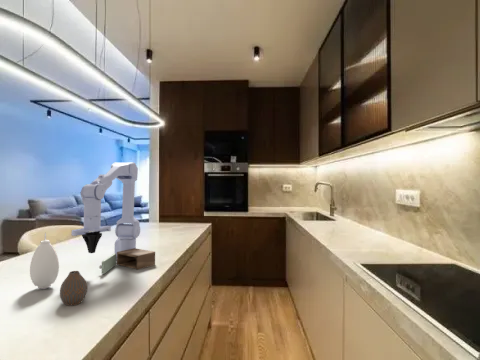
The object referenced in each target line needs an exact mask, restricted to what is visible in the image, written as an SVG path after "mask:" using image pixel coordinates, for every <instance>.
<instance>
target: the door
mask: <svg viewBox="0 0 480 360" xmlns="http://www.w3.org/2000/svg"><path fill="white" fill-rule="evenodd" d="M115 266H117V258H116V253H115V254H114V253H113V254H111V255H109V256H107V257H106V258H105V259H103V260H102V261H101V264H100V265H99V267H98V268H99V269H101V275H104V274H106V273H107V272H108V271H109V270H111V269H113V268H114V267H115Z"/></svg>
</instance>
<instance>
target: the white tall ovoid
mask: <svg viewBox="0 0 480 360" xmlns="http://www.w3.org/2000/svg"><path fill="white" fill-rule="evenodd" d="M43 238H44V239H43V240H41V241H40V243H39V245H38V246H37V247H36V249H35V251H34V252H33V255H32V257H31V260H30V265H29V276H30V280H31V282H32V284H33V285H34V286H35V287H37V288H38V289H41V290H45V289H48V288H49V287H51V286H52V284H54V283H55V282H56V281H57V278H58V275H59V271H60V269H59V268H60V263H59V257H58V254H57V253H58V252H57V251H56V250H55V248H54V246H53V245H52V244H51V240H49V239H47V233H46V232H45V233H44V237H43Z"/></svg>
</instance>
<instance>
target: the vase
mask: <svg viewBox="0 0 480 360" xmlns="http://www.w3.org/2000/svg"><path fill="white" fill-rule="evenodd" d="M87 283H88V282H87V281H86V278H84V277H83V275H82V274H81V273H80V271H79V270H73V271H69V273H68V275H67V276H66V277H65V278H64V280H63V281H62V283H61V286H60V288H59V297H60V300H61V303H63V304H65V305H66V306H76V305H79V304H81V303H82V302H83V301H84V300H85V298H86V296H87V294H88V284H87Z"/></svg>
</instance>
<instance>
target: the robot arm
mask: <svg viewBox="0 0 480 360" xmlns="http://www.w3.org/2000/svg"><path fill="white" fill-rule="evenodd" d="M138 175H139V174H138V166H137V164H136V163H135V162H134V161H133V162H117V161H115V162H113V163H112V164H111V165H110V169H109V170H108V171H107V172H106V174H99V175H98V177H96V179H94V180H93V181H91V182H90V183H89V184H85V185H83V186H82V187H81V190H80V197H81V198H82V201H81V202H82V204H83V227H82V228H78V229H72V230H71V236H73V237H76V236H81V237H82V239H83V241H84V242H85V245H86V247H87V252H88V254H94V253H96V250H97V246H98V244H99V242H100V240H101V238H102V237H103V233H105V232H111V231H112V228H111V225H103V226H102V225H101V222H102V221H101V220H102V219H101V218H102V199H104V197H105V194H106V192H107V190H108V189H109V188H110V187H112V184H113V181H114V180H115V179H117V180H118V181H120V182H121V183H122V208H121V211H122V212H121V217H120V219H118V220H117V221H116V225H115V230H114V233H115V236H116V237H117V238H116V240H115V242H114V251H113V254H115V253H116V259H117V252H119V251H124V250H128V249H133V248H136V249H137V238H138V237H140V234H141V226H140V220H138V219H137V218H136V217H135V216H134V215H135V214H134V212H135V192H136V191H135V184H136V181H137V180H138Z"/></svg>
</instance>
